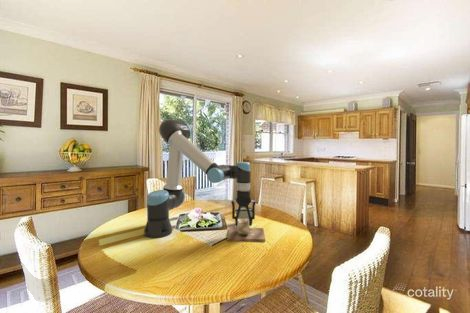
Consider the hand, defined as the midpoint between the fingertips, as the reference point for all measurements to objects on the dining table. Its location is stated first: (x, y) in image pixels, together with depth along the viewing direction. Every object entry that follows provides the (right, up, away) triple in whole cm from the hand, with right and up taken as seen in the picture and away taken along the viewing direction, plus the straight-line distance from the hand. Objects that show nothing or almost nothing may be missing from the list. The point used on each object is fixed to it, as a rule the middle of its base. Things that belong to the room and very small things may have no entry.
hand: (243, 231), depth 133 cm
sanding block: (0, 0, 0) cm, 0 cm away
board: (+2, -2, 0) cm, 3 cm away
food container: (+2, -1, +20) cm, 20 cm away
